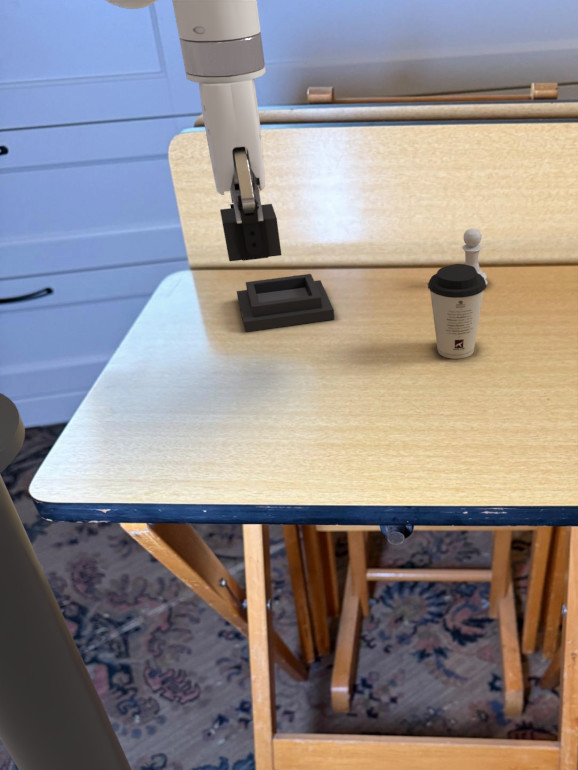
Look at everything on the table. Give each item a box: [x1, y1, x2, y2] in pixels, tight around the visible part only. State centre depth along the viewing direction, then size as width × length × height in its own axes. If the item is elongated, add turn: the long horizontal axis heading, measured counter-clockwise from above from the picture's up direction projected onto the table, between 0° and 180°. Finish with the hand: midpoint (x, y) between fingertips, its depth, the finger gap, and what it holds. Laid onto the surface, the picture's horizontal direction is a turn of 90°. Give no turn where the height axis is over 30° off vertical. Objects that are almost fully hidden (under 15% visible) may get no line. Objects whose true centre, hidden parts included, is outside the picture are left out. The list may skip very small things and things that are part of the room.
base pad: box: [236, 273, 335, 333], centre depth 109 cm, size 12×10×3 cm
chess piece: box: [461, 228, 488, 286], centre depth 112 cm, size 5×5×8 cm
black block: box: [219, 203, 282, 262], centre depth 86 cm, size 6×5×4 cm
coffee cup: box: [427, 263, 487, 360], centre depth 97 cm, size 7×7×10 cm
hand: (252, 247), depth 87 cm, fingers closed on black block, 4 cm apart
